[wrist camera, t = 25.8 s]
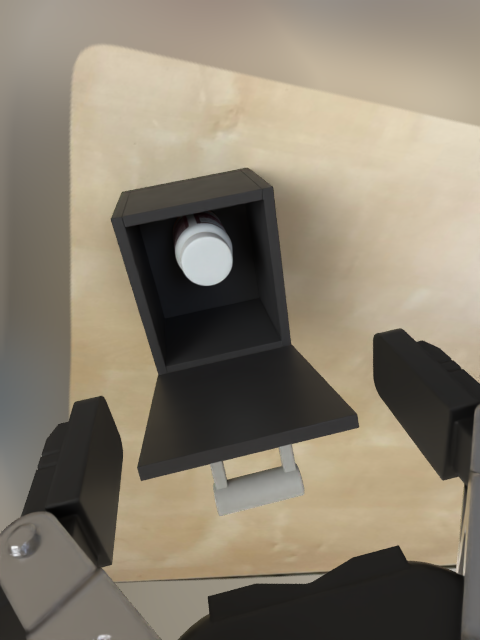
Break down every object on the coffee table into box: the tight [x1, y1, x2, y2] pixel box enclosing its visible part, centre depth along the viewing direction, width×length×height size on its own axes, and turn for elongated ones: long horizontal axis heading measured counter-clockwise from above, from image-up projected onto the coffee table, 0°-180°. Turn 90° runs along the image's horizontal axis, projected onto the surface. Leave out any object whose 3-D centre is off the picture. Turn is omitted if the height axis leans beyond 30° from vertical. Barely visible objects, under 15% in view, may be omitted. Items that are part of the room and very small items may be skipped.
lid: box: [137, 345, 359, 516], centre depth 29 cm, size 14×12×5 cm
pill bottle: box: [173, 211, 233, 286], centre depth 36 cm, size 5×5×8 cm
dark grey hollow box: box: [111, 168, 291, 375], centre depth 37 cm, size 14×12×10 cm
